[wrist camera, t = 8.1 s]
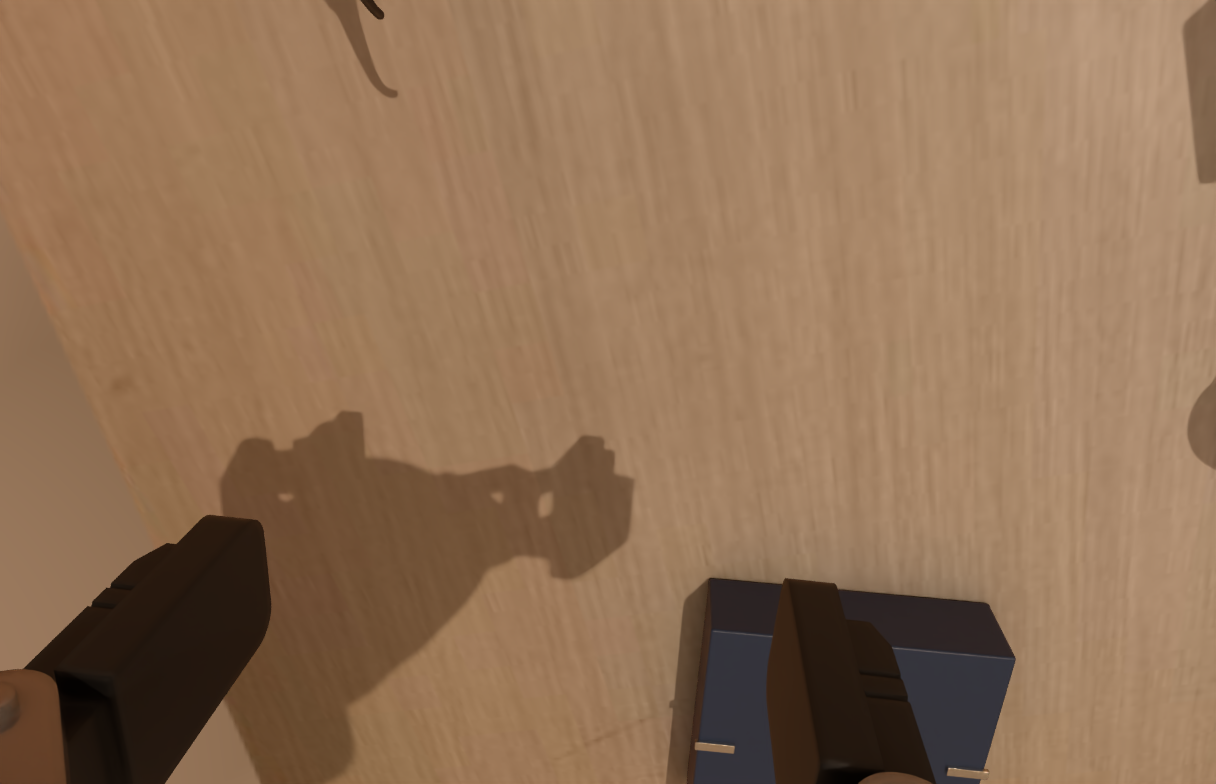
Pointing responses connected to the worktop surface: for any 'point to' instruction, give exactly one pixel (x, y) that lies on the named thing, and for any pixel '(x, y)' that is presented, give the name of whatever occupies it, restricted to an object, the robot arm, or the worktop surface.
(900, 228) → the worktop surface
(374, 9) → the figurine
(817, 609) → the robot arm
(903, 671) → the plate
